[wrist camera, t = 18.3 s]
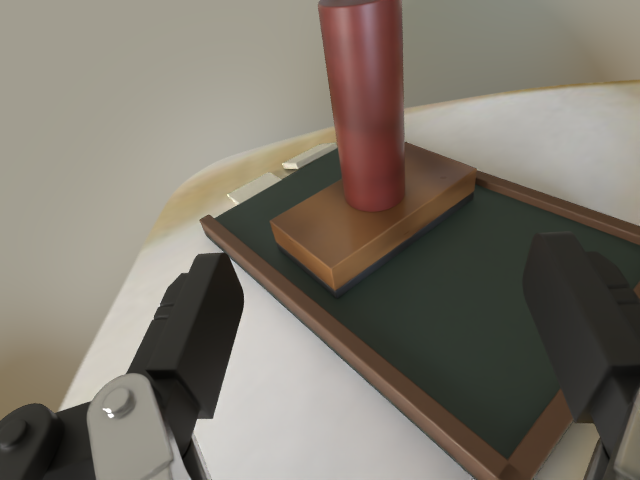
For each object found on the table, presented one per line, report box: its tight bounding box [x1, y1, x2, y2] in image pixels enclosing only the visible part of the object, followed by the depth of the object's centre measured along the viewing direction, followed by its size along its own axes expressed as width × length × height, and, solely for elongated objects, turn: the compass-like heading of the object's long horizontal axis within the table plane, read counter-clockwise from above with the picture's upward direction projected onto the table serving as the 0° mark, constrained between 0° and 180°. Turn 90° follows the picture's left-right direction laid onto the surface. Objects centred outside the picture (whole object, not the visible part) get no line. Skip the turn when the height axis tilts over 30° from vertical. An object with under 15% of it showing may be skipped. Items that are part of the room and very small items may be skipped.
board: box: [200, 148, 640, 480], centre depth 23 cm, size 15×22×2 cm
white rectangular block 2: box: [282, 143, 338, 169], centre depth 32 cm, size 4×2×1 cm, turn 127°
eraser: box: [270, 0, 477, 298], centre depth 20 cm, size 11×6×12 cm, turn 128°
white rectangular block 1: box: [227, 172, 282, 205], centre depth 31 cm, size 4×2×1 cm, turn 130°
